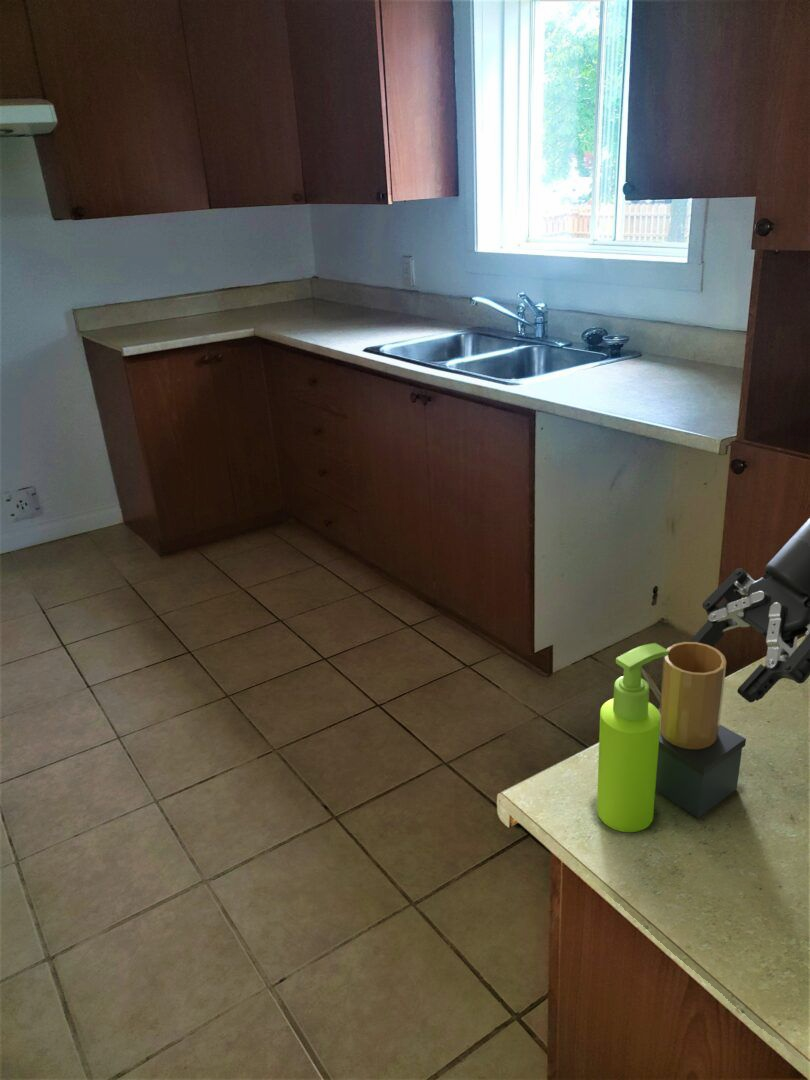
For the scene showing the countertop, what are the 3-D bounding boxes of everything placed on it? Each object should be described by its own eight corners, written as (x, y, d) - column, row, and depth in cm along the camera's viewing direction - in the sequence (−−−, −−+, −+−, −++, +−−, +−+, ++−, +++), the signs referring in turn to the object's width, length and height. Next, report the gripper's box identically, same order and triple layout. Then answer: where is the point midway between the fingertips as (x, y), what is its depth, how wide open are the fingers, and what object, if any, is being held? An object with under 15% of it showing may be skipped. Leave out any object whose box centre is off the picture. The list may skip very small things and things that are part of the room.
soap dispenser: (672, 813, 87) (686, 656, 78) (623, 840, 84) (632, 681, 76) (632, 781, 92) (641, 630, 83) (585, 806, 89) (589, 652, 80)
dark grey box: (739, 789, 89) (746, 738, 86) (698, 820, 86) (704, 769, 83) (670, 747, 96) (674, 698, 93) (629, 774, 93) (632, 725, 90)
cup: (729, 733, 87) (738, 658, 83) (694, 757, 84) (701, 682, 80) (682, 706, 92) (688, 635, 88) (647, 729, 89) (652, 656, 85)
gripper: (760, 512, 88) (659, 625, 90) (861, 569, 75) (741, 698, 78) (796, 547, 91) (698, 655, 94) (898, 607, 79) (782, 729, 81)
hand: (718, 674), depth 86 cm, fingers open, 8 cm apart
